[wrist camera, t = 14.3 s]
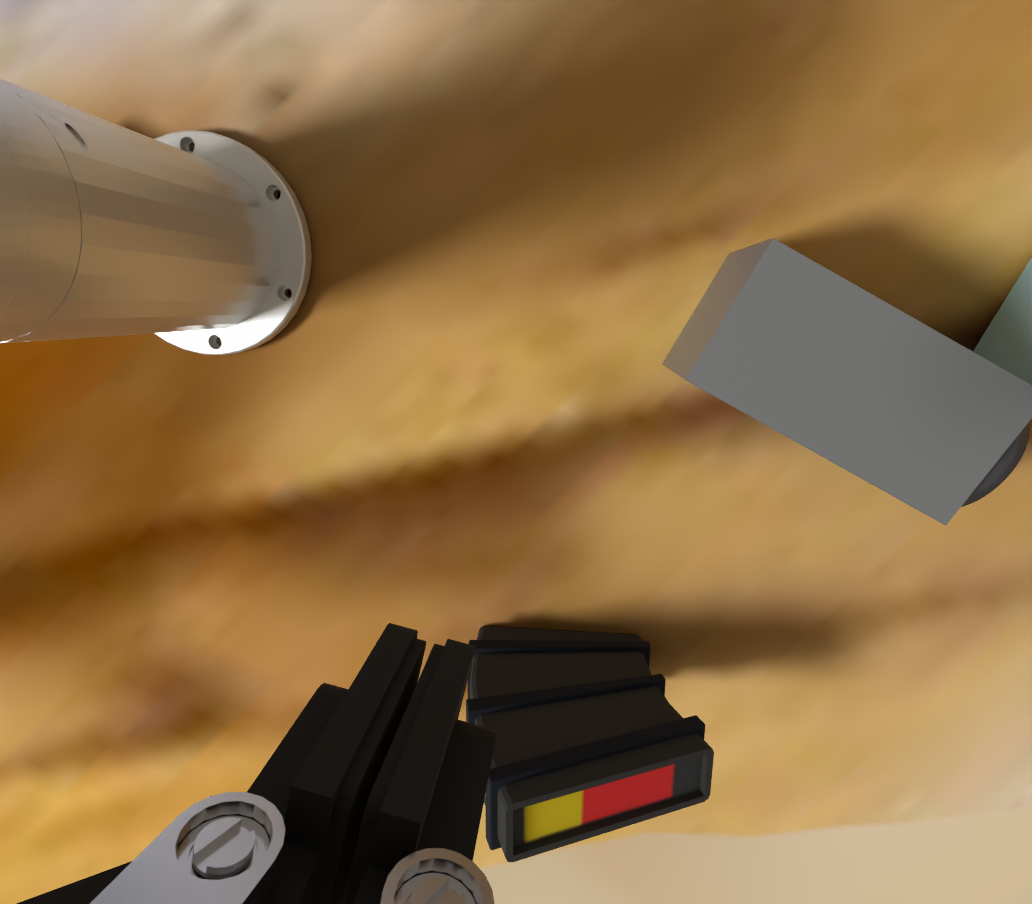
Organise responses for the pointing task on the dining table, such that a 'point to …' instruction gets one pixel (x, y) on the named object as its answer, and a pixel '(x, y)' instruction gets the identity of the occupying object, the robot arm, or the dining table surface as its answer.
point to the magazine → (578, 737)
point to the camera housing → (854, 380)
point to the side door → (1012, 331)
